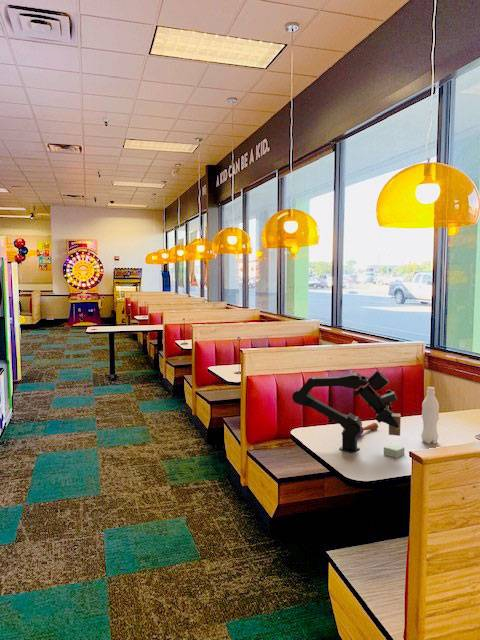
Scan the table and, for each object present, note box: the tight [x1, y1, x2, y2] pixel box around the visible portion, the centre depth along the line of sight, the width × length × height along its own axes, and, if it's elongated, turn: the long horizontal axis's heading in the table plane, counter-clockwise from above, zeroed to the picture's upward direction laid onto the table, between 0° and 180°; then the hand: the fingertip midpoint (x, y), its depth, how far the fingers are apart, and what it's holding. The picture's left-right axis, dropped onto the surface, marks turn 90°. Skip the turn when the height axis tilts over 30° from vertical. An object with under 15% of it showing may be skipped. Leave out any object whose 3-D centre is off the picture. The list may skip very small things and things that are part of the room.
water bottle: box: [420, 386, 440, 445], centre depth 216 cm, size 7×7×25 cm
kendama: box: [356, 422, 379, 438], centre depth 229 cm, size 6×6×20 cm
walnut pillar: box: [388, 412, 402, 436], centre depth 202 cm, size 4×4×8 cm
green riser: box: [383, 443, 405, 459], centre depth 203 cm, size 6×6×3 cm
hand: (398, 425), depth 201 cm, fingers closed on walnut pillar, 4 cm apart
